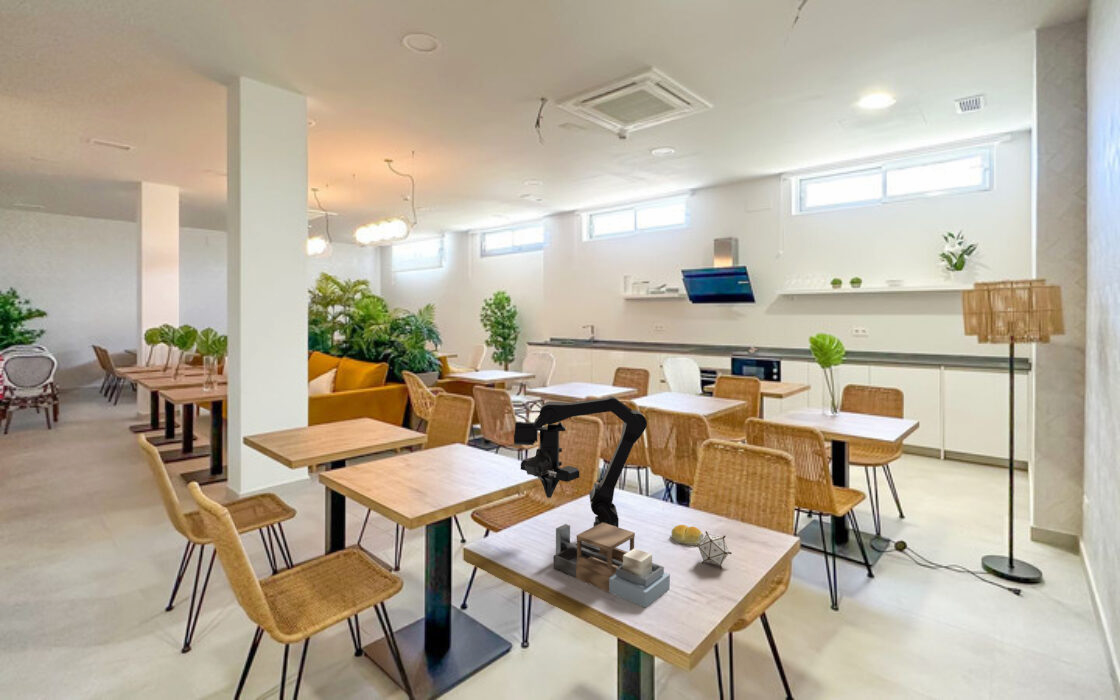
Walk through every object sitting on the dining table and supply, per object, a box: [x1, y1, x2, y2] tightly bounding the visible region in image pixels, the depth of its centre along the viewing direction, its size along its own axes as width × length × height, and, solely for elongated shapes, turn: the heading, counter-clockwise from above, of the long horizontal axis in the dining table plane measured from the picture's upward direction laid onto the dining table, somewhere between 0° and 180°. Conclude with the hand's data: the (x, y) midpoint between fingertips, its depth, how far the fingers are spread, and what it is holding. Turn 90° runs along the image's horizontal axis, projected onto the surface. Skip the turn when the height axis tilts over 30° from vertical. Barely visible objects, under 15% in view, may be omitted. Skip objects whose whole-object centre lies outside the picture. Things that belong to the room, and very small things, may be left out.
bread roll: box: [671, 524, 704, 546], centre depth 153 cm, size 8×9×4 cm
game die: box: [694, 530, 733, 569], centre depth 137 cm, size 9×8×10 cm
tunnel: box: [553, 522, 636, 593], centre depth 132 cm, size 18×11×11 cm, turn 50°
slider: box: [555, 523, 665, 587], centre depth 130 cm, size 29×8×8 cm, turn 50°
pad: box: [608, 571, 671, 608], centre depth 123 cm, size 10×11×4 cm
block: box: [623, 547, 653, 578], centre depth 124 cm, size 5×5×5 cm
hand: (549, 497), depth 153 cm, fingers closed
